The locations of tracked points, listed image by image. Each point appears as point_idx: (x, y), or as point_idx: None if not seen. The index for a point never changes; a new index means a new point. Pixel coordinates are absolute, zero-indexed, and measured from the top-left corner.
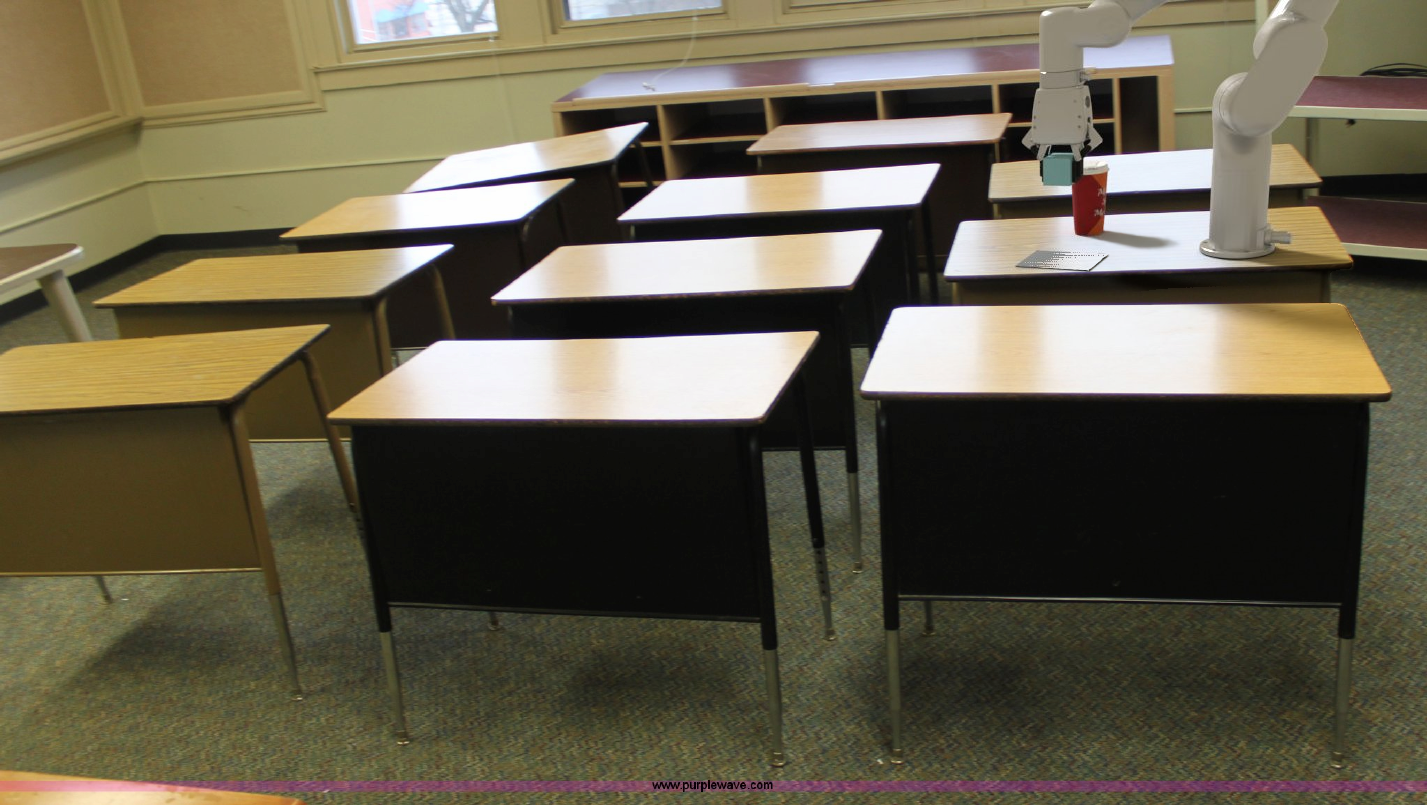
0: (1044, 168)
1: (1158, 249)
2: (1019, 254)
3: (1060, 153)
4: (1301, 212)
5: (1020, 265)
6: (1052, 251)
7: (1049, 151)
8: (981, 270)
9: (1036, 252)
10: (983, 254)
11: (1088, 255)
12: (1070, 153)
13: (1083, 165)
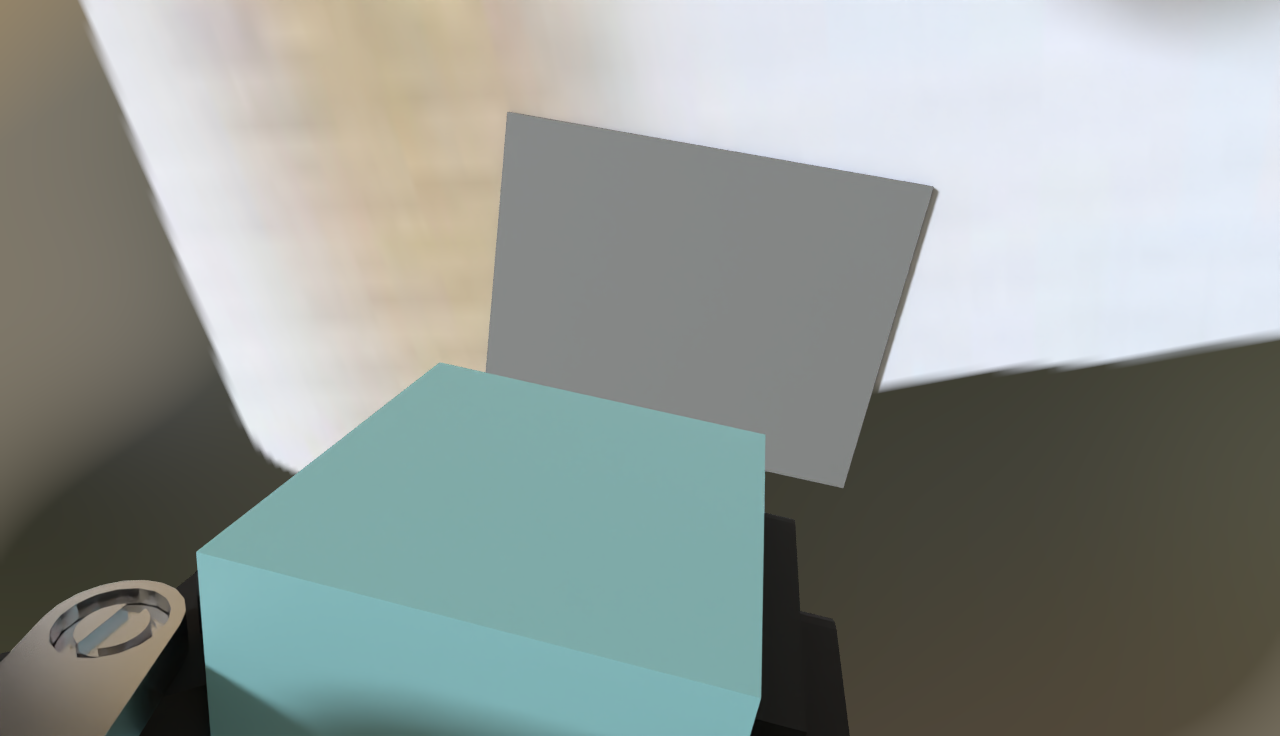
0: None
1: (1273, 31)
2: (436, 180)
3: (362, 636)
4: None
5: None
6: (600, 135)
7: (137, 695)
8: None
9: (518, 162)
10: (258, 184)
11: (818, 220)
12: (566, 680)
13: (846, 714)
